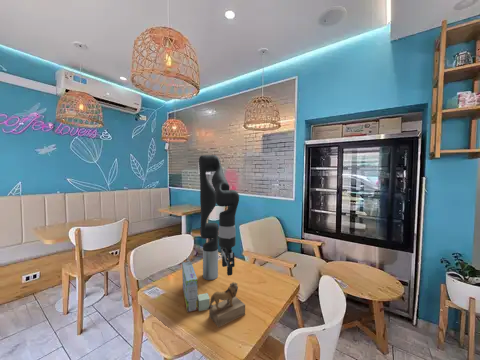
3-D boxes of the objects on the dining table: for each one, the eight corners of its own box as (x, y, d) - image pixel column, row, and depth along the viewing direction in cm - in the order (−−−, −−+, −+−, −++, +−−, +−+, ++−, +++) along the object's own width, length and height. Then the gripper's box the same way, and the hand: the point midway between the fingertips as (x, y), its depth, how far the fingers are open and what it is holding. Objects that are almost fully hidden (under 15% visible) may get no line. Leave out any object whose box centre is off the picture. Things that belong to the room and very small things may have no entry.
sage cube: (197, 305, 102) (197, 294, 102) (207, 302, 103) (207, 293, 103) (198, 311, 97) (198, 300, 97) (209, 309, 99) (209, 298, 98)
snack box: (181, 289, 115) (181, 262, 115) (192, 287, 117) (191, 260, 117) (186, 313, 96) (186, 280, 95) (198, 310, 98) (198, 278, 97)
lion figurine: (234, 297, 100) (234, 279, 100) (240, 303, 95) (240, 284, 95) (205, 307, 92) (205, 287, 92) (210, 314, 88) (210, 293, 88)
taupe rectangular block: (209, 317, 93) (209, 306, 93) (235, 306, 101) (235, 296, 101) (218, 328, 87) (218, 316, 87) (245, 315, 95) (245, 304, 95)
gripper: (215, 231, 99) (215, 265, 99) (223, 240, 85) (223, 279, 86) (230, 229, 101) (230, 262, 102) (240, 238, 88) (240, 276, 89)
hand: (227, 270), depth 94 cm, fingers open, 8 cm apart
